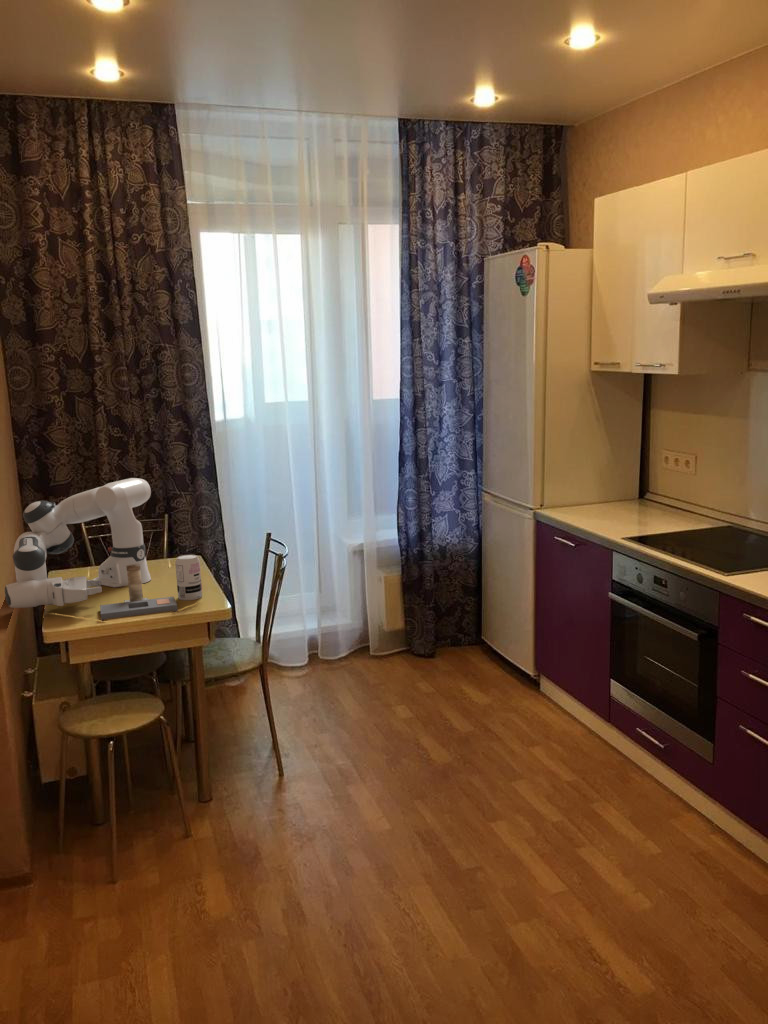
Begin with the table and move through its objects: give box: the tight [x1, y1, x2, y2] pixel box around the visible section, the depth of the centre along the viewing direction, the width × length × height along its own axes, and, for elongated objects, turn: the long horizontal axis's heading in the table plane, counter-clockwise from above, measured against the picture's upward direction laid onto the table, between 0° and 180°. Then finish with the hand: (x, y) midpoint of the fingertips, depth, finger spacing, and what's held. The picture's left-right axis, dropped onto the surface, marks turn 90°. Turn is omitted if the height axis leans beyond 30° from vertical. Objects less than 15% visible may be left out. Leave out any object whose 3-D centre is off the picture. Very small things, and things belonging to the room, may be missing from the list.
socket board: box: [99, 596, 179, 622], centre depth 280 cm, size 24×11×3 cm, turn 110°
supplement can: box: [174, 554, 203, 601], centre depth 293 cm, size 8×8×15 cm
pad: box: [123, 597, 149, 602], centre depth 290 cm, size 8×8×1 cm
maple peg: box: [126, 564, 144, 602], centre depth 289 cm, size 4×4×13 cm
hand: (101, 585), depth 285 cm, fingers open, 8 cm apart
